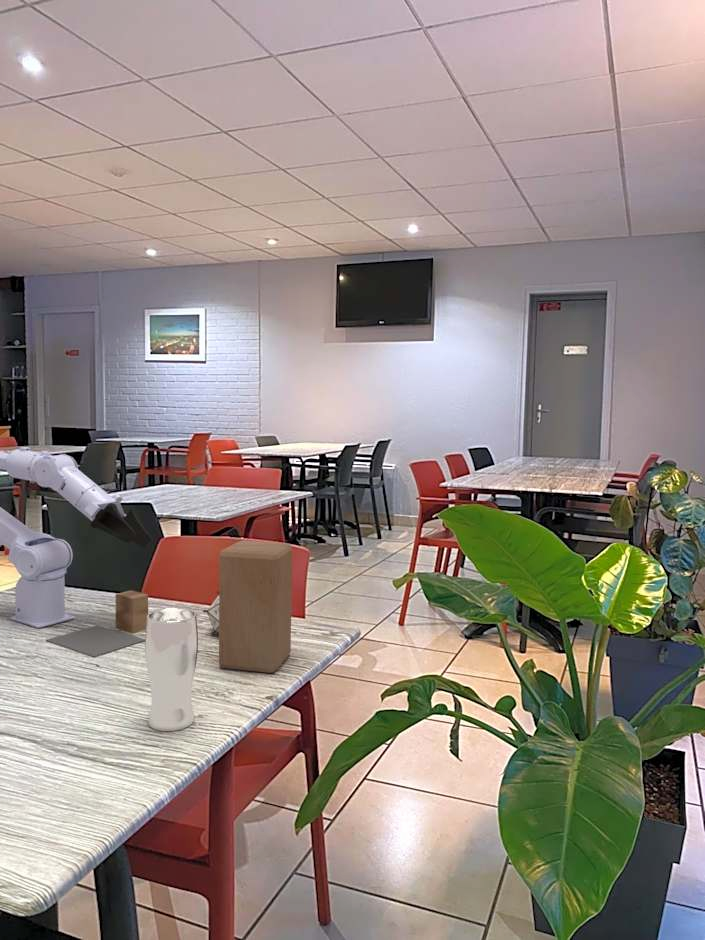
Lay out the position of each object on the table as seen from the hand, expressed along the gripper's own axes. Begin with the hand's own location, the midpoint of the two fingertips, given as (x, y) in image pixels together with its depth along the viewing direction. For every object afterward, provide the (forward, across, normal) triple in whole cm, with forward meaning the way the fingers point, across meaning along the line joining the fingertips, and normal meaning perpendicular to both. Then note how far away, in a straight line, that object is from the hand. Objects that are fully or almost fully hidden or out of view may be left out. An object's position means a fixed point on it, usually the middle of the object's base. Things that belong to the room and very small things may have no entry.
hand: (140, 541), depth 131 cm
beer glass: (+31, -28, +12) cm, 43 cm away
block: (+32, -5, +3) cm, 32 cm away
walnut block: (+7, +7, +15) cm, 18 cm away
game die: (+22, +8, +4) cm, 24 cm away
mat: (+5, 0, +19) cm, 19 cm away
